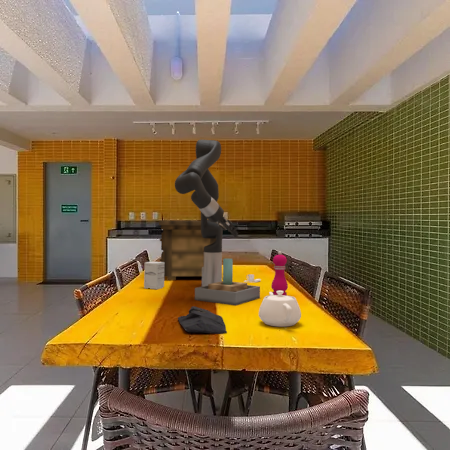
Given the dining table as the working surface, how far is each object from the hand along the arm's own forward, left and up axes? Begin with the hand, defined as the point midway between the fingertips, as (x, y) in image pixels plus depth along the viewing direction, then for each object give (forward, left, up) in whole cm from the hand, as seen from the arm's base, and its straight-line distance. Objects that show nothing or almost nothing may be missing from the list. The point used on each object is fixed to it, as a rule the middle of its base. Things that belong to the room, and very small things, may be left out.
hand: (231, 232), depth 194 cm
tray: (+3, -7, -28) cm, 29 cm away
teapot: (+40, -34, -28) cm, 59 cm away
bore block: (+3, -7, -28) cm, 29 cm away
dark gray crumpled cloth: (+21, -51, -29) cm, 62 cm away
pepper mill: (+18, +12, -28) cm, 36 cm away
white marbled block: (-42, -3, -28) cm, 51 cm away
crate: (-53, +40, -28) cm, 73 cm away
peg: (+3, -7, -25) cm, 26 cm away
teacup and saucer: (-13, +44, -29) cm, 54 cm away
